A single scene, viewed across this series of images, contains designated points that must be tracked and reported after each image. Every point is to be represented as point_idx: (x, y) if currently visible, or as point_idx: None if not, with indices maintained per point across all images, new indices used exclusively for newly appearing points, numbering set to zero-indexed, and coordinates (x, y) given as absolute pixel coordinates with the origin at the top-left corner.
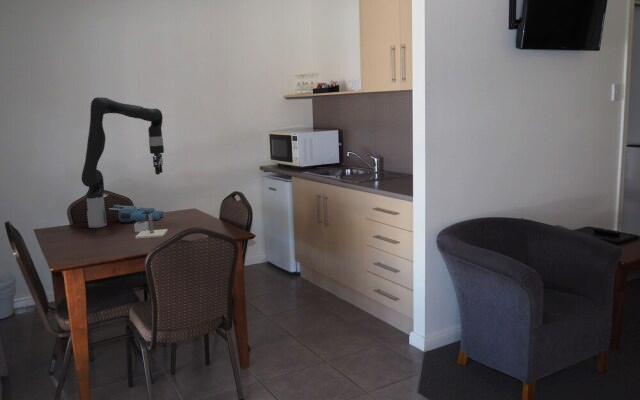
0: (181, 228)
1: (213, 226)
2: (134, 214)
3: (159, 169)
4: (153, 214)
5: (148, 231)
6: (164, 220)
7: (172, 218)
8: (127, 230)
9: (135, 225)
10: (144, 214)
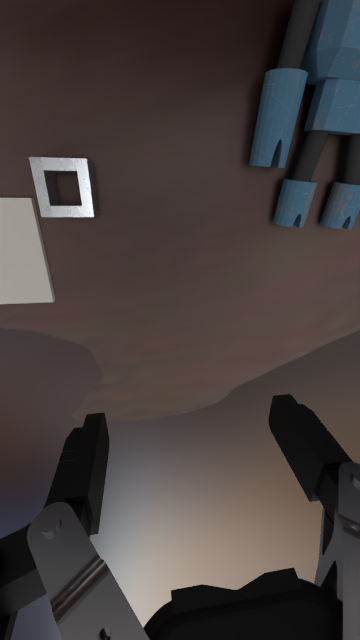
0: (90, 336)
1: None
2: (275, 96)
3: (292, 435)
4: (290, 198)
5: (14, 234)
6: (259, 244)
7: (284, 268)
8: (93, 106)
9: (32, 164)
10: (268, 159)
